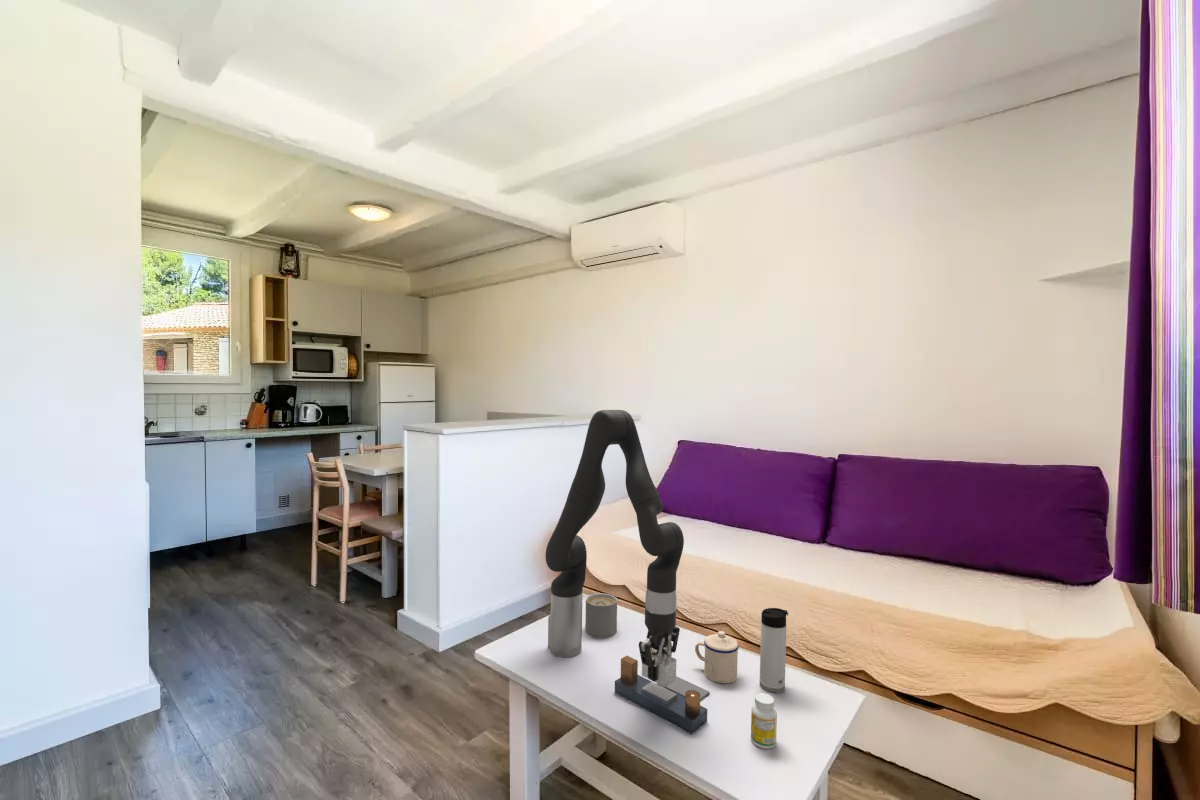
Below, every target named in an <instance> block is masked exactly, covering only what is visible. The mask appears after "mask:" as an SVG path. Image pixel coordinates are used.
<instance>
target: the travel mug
mask: <svg viewBox="0 0 1200 800" xmlns="http://www.w3.org/2000/svg"><path fill="white" fill-rule="evenodd" d="M787 616H789V612H788V611H787V610H786V609H782V608H777V607H768V608H764V609H763V610H762V611H761V622H760V653H759V654H760V656H759V660H760V661H759V686H760V687H761V688H762V689H763V688H764V691H767V690H768V691H767V692H769V691H771V692H770V693H774V692H778V693H781V692H780V691H782V690H783V691H785V689H786V683H785V682H786V659H787V658H786V657H787V656H786V654H787V653H786V652H787V650H786V649H787ZM784 688H785V689H784ZM783 691H782V692H783Z"/></svg>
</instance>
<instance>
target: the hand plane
mask: <svg viewBox="0 0 1200 800" xmlns="http://www.w3.org/2000/svg"><path fill="white" fill-rule="evenodd" d="M638 663H639V661H638V660H637V659H635V658H634V657H631V656H629V655H625V656H624V657H622V658H620V677H619V678H618V679H616V680H614V694H616V695H618V696H620V697H622V698H623V697H624V698H623V699H625V700H627V701H629V702H631V703H632V704H635V705H637V706H638V707H641V708H642V709H644V710H645V711H647V712H650V713H651V714H653V715H655V716H657V717H659V718H660V719H663V720H664V721H665V722H668V723H670V724H671V725H673V726H675V727H677V728H679V729H680V730H682V731H684V732H686V733H688V734H689V735H693V734H695V733H696V732H697V731H698V730H699V729H701V727H703V726H704V725H705V724H706V723H708V708H706V707H705V706H702V705H701V701H700V693H699V692H698V691H695V690H688V691H686V693H685V698H684V697H682V696H680V695H678V694H676V693H674V692H672V691H670V690H668V689H666V688H664V687H662V686H660V685H658V684H657V683H656V682H654V681H652V680H650V679H648V678H646V677H644V676H642V675H639V674H638V671H639V669H638V668H639V664H638Z"/></svg>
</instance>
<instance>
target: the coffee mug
mask: <svg viewBox="0 0 1200 800" xmlns="http://www.w3.org/2000/svg"><path fill="white" fill-rule="evenodd" d="M584 623H585V628H584V629H585V633H586V635H588V636H590V637H592V638H596V639H607V638H611V637H613V636H615V635H616V634H617V631H618V630H617V628H618V627H617V626H618V598H617V597H616V596H614V595H612V594H608V593H603V592H602V593H592V594H589V595H588V596H586V598H585V622H584Z"/></svg>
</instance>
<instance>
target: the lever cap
mask: <svg viewBox="0 0 1200 800" xmlns="http://www.w3.org/2000/svg"><path fill="white" fill-rule="evenodd" d="M652 650H654V651H656V652H657V650H655V649H653V648H652ZM652 660H654V655H652ZM641 676H642V677H644V678H646V679H648V680H650V679H649V678H648V666H647V665H645V664H643V663H642V662H641ZM676 676H677V659H676V658H674V657H673V656H671V657H670V656H668V655H666V654H664V653H661V656H660V657H659V658H658V663H657V680H656V681H655V682H654V683H656V684H657V683H658V684H660V685H662V686H664V687H666V686H668V685H669V684H670V683H672V682H673V681H675V680H676Z"/></svg>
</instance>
